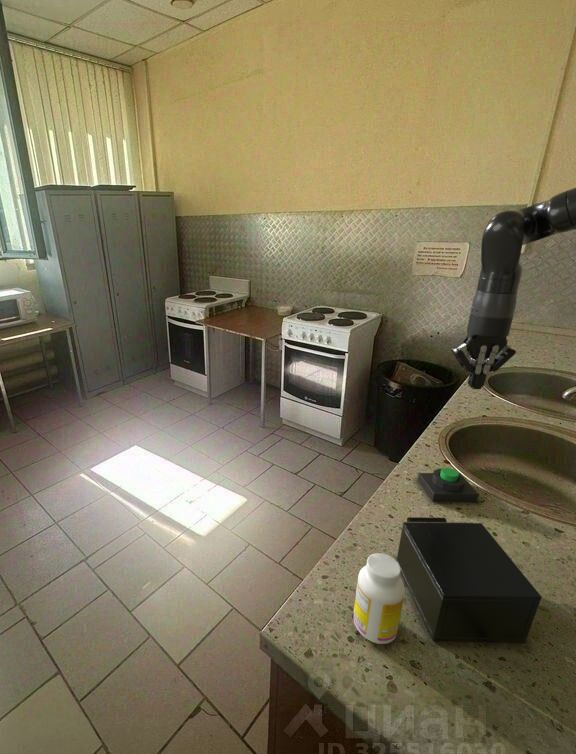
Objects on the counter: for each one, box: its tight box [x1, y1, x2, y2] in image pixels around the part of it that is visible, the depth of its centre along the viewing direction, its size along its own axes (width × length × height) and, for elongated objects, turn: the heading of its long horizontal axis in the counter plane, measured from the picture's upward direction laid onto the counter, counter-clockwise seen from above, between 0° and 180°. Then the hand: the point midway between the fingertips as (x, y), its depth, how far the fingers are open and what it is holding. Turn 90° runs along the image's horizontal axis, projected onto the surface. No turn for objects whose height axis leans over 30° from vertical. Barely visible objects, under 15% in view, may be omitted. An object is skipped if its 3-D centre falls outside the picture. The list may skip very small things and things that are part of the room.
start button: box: [440, 467, 460, 482], centre depth 92 cm, size 4×4×2 cm
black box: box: [396, 522, 542, 644], centre depth 66 cm, size 15×14×10 cm
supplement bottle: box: [353, 552, 406, 645], centre depth 61 cm, size 7×7×13 cm
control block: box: [417, 468, 480, 503], centre depth 93 cm, size 10×8×4 cm
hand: (474, 387), depth 89 cm, fingers closed
